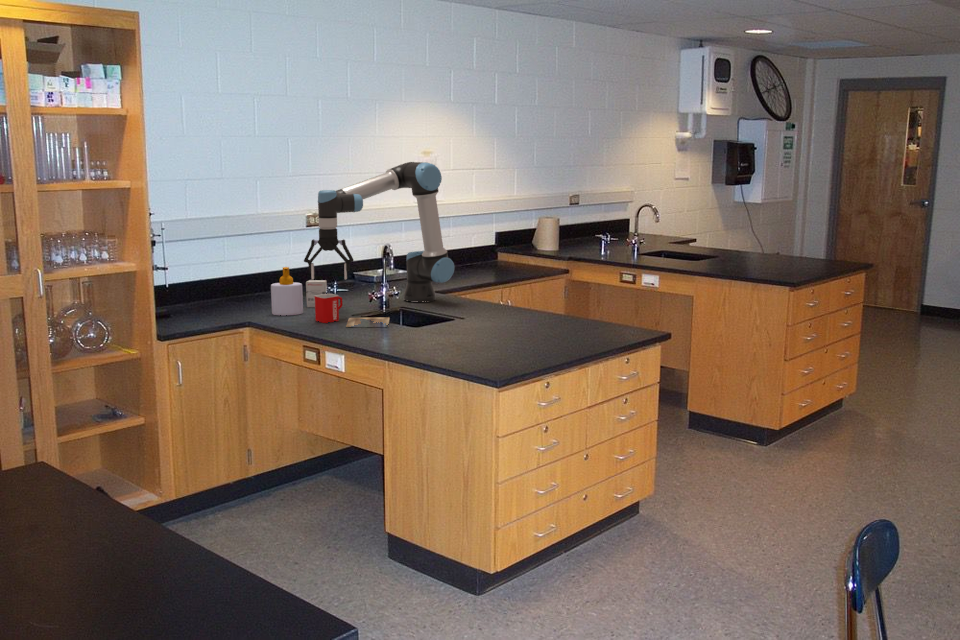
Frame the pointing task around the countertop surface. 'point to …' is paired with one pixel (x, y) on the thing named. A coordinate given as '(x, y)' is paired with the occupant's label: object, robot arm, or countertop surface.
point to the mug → (327, 307)
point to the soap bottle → (286, 296)
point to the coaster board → (377, 319)
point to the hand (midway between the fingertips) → (329, 279)
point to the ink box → (314, 290)
